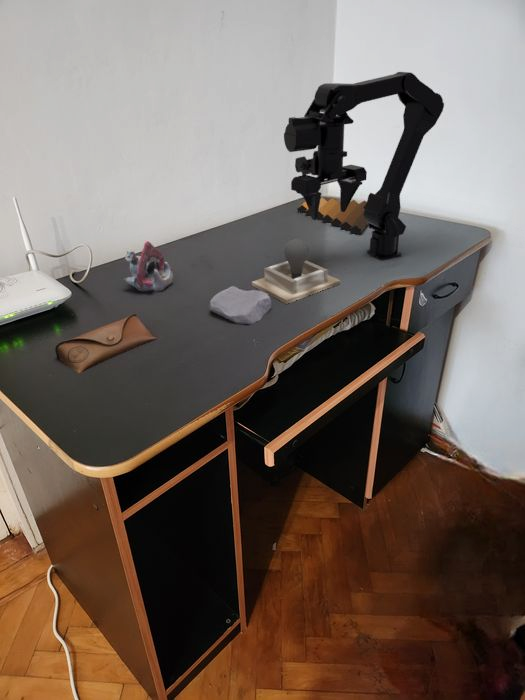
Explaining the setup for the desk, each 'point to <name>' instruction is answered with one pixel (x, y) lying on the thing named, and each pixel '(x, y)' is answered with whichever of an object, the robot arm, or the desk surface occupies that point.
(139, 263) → the grey and pink figurine
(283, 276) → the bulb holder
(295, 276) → the light bulb
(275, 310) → the desk surface
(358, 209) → the pan flute
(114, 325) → the sunglasses case
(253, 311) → the stone block
